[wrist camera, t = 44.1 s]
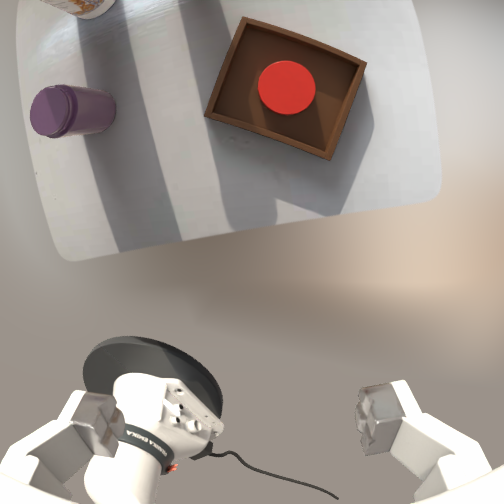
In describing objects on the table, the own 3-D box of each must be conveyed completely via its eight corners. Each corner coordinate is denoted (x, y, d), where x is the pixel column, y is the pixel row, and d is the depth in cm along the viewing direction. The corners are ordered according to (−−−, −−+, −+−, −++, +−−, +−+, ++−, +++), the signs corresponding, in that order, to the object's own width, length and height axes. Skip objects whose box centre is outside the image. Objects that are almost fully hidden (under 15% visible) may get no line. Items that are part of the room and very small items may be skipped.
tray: (362, 65, 30) (367, 62, 28) (326, 159, 35) (330, 161, 33) (243, 21, 29) (242, 16, 27) (206, 116, 33) (203, 116, 31)
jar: (124, 107, 33) (79, 104, 23) (97, 142, 34) (48, 151, 24) (97, 81, 31) (48, 72, 21) (71, 115, 33) (19, 118, 23)
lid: (252, 69, 31) (251, 66, 29) (306, 60, 30) (308, 56, 28) (264, 120, 33) (265, 119, 31) (318, 110, 32) (321, 109, 30)
